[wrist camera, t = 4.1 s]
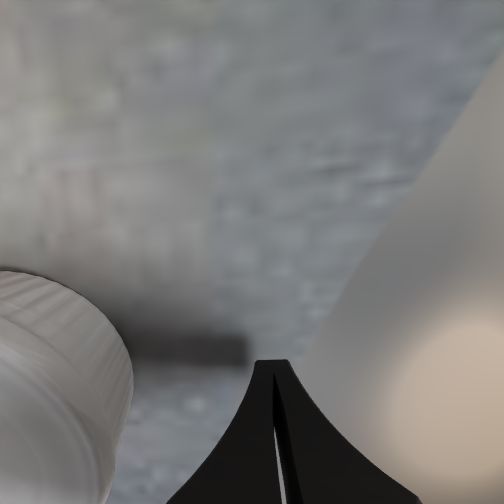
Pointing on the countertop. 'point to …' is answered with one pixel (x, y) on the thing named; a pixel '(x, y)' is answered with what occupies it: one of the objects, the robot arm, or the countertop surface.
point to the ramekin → (58, 394)
